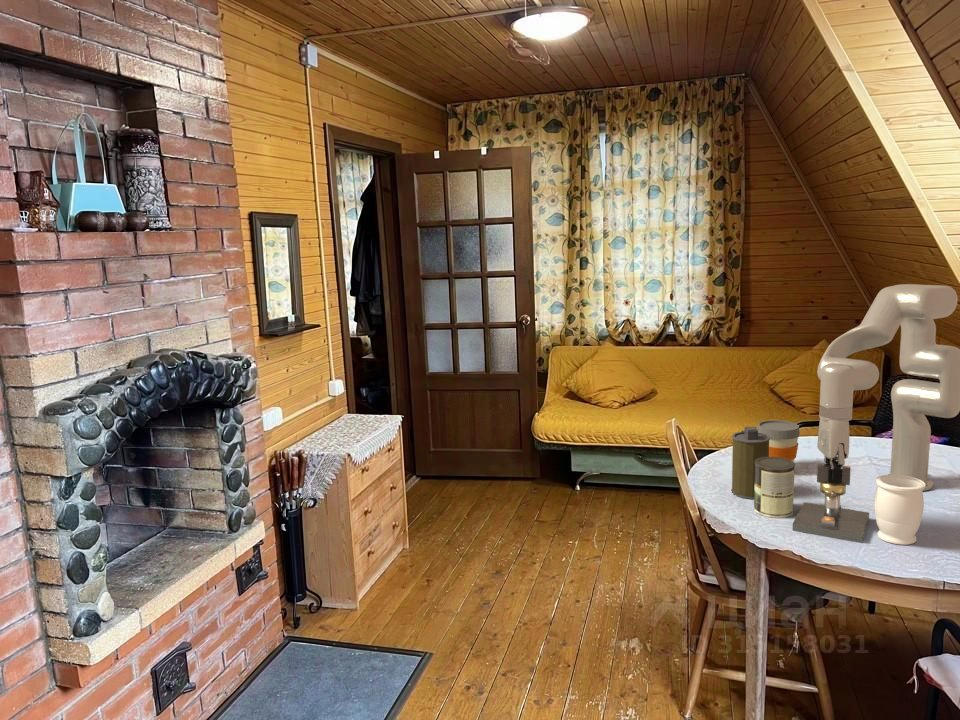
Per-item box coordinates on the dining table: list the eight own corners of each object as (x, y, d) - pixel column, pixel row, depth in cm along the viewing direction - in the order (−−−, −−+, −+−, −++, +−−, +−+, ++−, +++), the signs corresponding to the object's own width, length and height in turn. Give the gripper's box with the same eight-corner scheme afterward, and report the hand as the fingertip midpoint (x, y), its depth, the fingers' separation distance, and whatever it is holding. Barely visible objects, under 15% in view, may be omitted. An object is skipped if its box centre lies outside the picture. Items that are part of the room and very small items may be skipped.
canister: (773, 498, 208) (775, 432, 204) (737, 499, 209) (738, 433, 205) (761, 485, 219) (762, 421, 215) (726, 486, 219) (727, 423, 216)
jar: (904, 528, 185) (908, 472, 182) (930, 546, 175) (935, 487, 172) (864, 530, 185) (867, 475, 182) (887, 548, 175) (891, 489, 172)
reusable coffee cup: (760, 477, 226) (761, 430, 223) (752, 463, 238) (753, 420, 235) (803, 477, 224) (804, 430, 221) (792, 464, 236) (793, 419, 233)
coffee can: (745, 509, 202) (746, 460, 200) (771, 501, 207) (772, 454, 204) (775, 521, 193) (776, 471, 191) (801, 513, 198) (803, 463, 195)
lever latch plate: (803, 509, 200) (805, 478, 198) (869, 519, 191) (870, 487, 190) (792, 530, 187) (793, 497, 185) (861, 542, 178) (863, 508, 177)
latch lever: (816, 484, 193) (817, 459, 192) (848, 487, 190) (849, 461, 189) (816, 495, 185) (817, 469, 184) (850, 499, 182) (851, 472, 181)
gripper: (810, 404, 192) (807, 470, 195) (830, 420, 176) (827, 492, 180) (840, 404, 191) (837, 470, 194) (863, 420, 175) (859, 492, 179)
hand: (832, 480), depth 187 cm, fingers closed on latch lever, 2 cm apart
